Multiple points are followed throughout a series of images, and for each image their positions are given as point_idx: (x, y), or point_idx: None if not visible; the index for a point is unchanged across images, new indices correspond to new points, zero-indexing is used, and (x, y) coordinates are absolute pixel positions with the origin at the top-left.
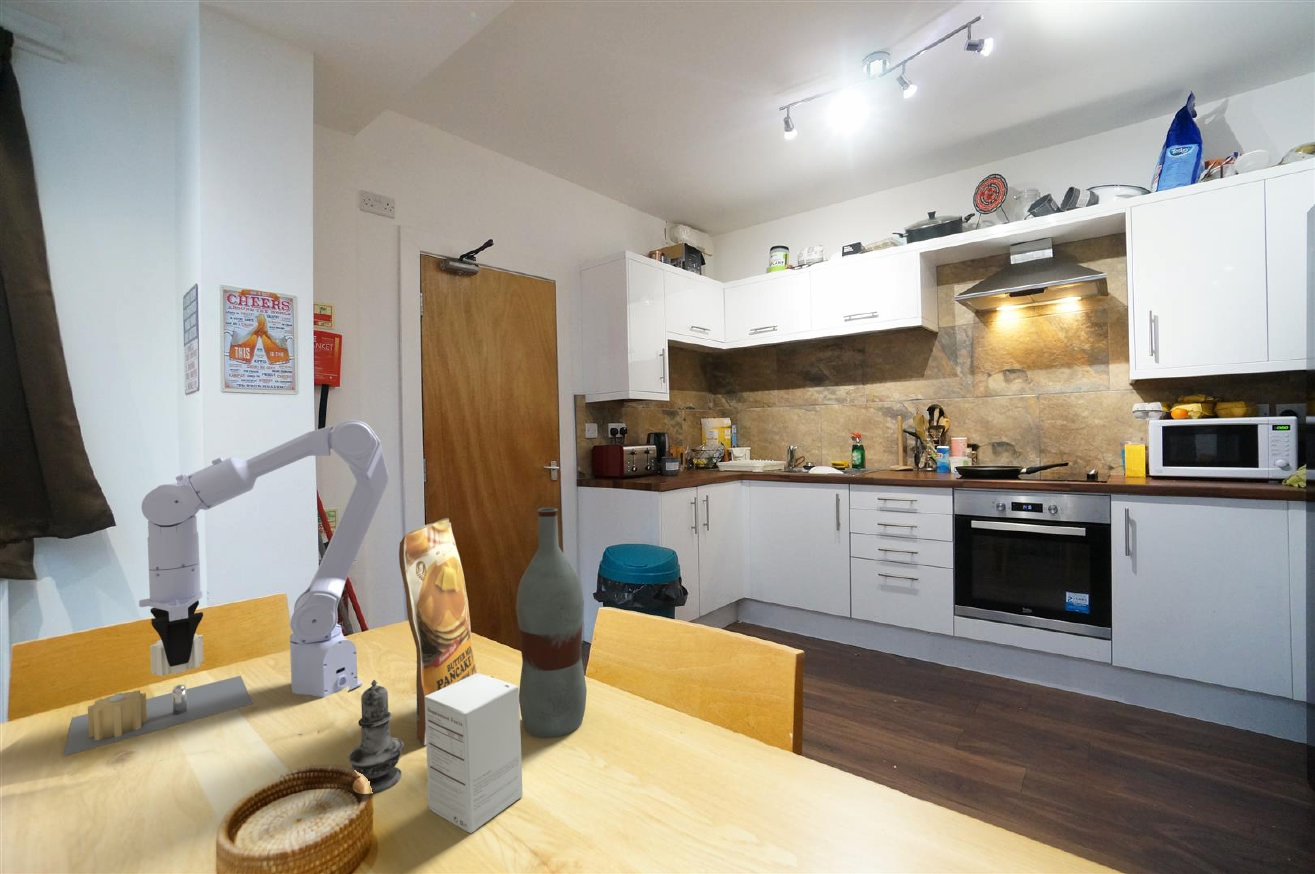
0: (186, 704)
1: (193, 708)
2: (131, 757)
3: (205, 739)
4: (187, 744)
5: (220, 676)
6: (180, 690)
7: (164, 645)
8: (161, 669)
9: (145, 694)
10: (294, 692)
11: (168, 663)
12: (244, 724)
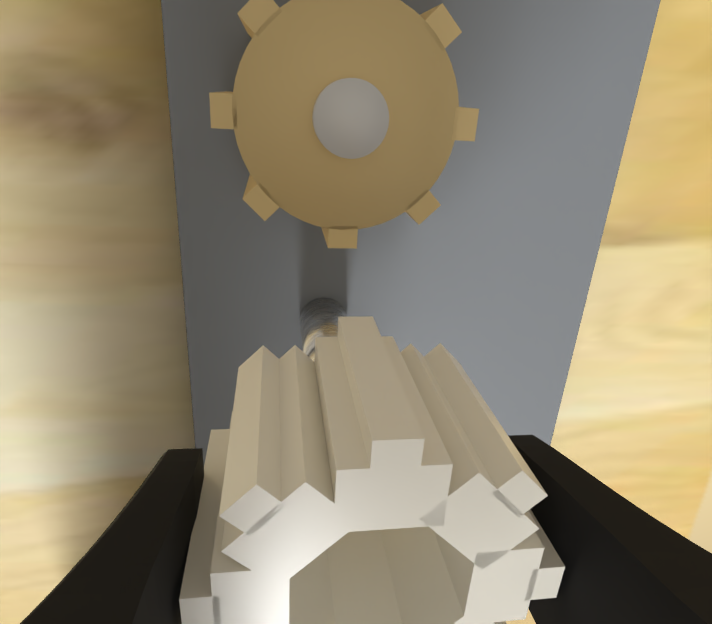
0: None
1: None
2: (28, 141)
3: (27, 367)
4: (20, 316)
5: (649, 430)
6: None
7: (47, 598)
8: (236, 391)
9: (327, 245)
10: None
11: (161, 461)
12: (83, 470)
